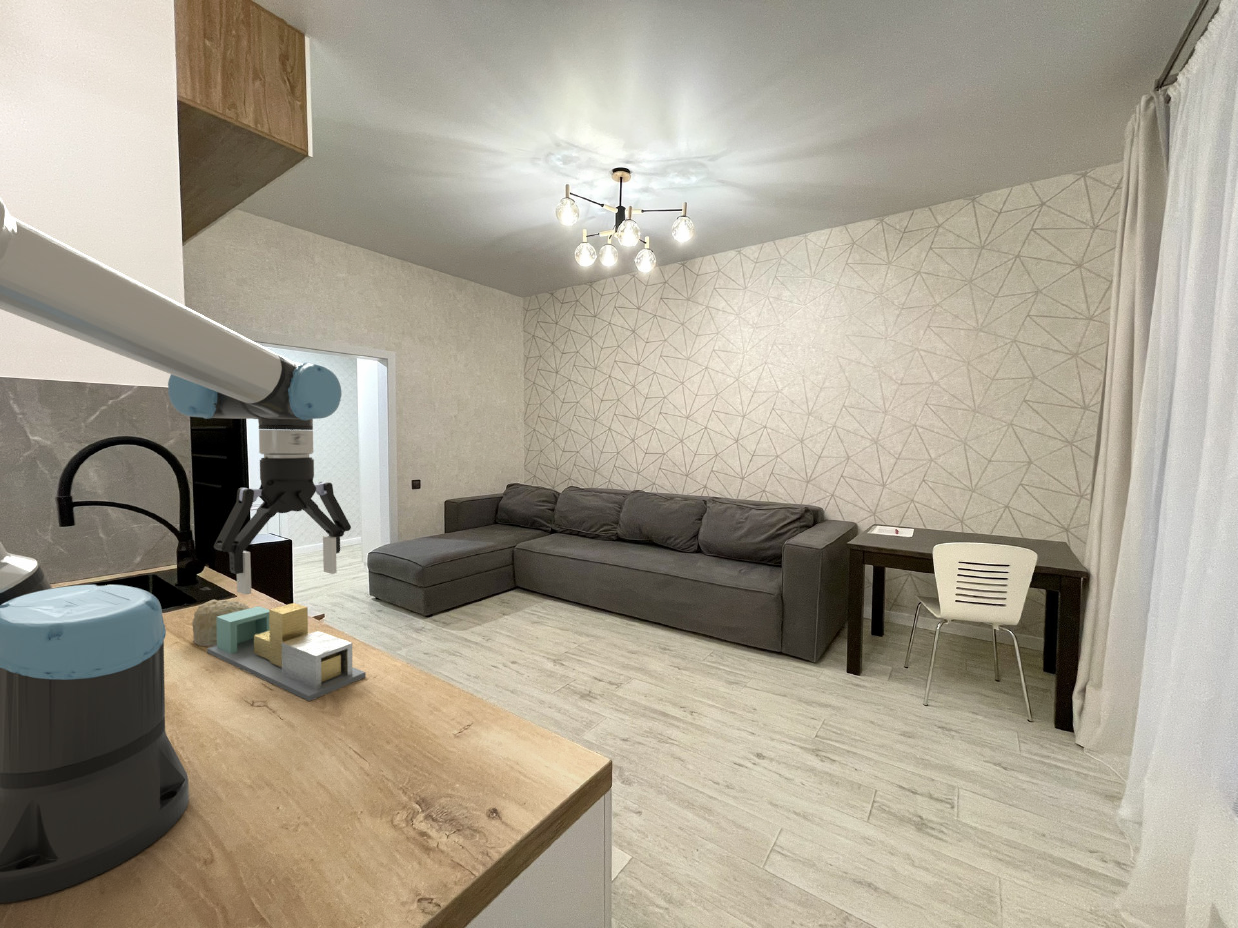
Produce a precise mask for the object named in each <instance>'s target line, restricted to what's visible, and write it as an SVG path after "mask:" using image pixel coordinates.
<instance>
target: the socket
mask: <svg viewBox="0 0 1238 928" xmlns="http://www.w3.org/2000/svg"><path fill="white" fill-rule="evenodd" d="M216 620H217V648H220V649H222V650H224V651H226V652H228V653H230V654H231V653H234V652H237V643H240V642H243V641H247V640H250V639H253V638H254V635H257V634H260V633H264V632H267V631H269V609H268V608H266V607H262V606H259V605H258V606H254V607H251V608H250V607H249V609H245V610H241V611H237V612H233V613H229V614H225V615H221V616H217V617H216Z"/></svg>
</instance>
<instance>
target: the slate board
mask: <svg viewBox="0 0 1238 928" xmlns="http://www.w3.org/2000/svg"><path fill="white" fill-rule="evenodd" d="M206 653H207V654H209V655H211V656H213V657H215V658H217V659H220V660H222V661H224V662H226V663H228V664H230V665H232V666H233V667H236V668H238V669H241V670H242V671H245V672H247V673H249V674H251V675H253V676H255V677H257V678H259V679H261V680H264V681H266V682H268V683H269V684H272V685H274V686H276V687H278V688H280V689H282V690H285V691H286V692H288V693H291V694H293V695H295V696H297V697H299V698H301V699H303V700H306V701H308V702H310V701H314V700H315V699H317V698H320V697H322V696H325V695H327V694H330V693H331V692H334V691H336V690H338V689H340V688H342V687H343V688H344V687H345V686H348V685H350V684H352V683H354V682H355V683H356V681H360V680H361V679H364V678H366V675H367V674H366V673H367V672H366V671H363V670H361V669H358V668H357V667H354V666H352V675H350V676H345V675H343V674H341V675H338V676H336V677H333V678H331V679H328V680H326V681H323V682H321V688H319V689H313V688H311V687H309V686H307V685H305V684H302V683H300V682H298V681H296V680H294V679H291V678H289V677H287V676H285V675H283V674H282V667H279V666H277V665H275V664H273V663H270V660H268V659H266V658H263V657H261V656H259V655H257V654H254V638H253V639H250V640H247V641H243V642H240V643H237V652H234V653H231V654H230V653H228V652H226V651H224V650H222V649H220V648H217V645H216V646H208V647H207V648H206Z"/></svg>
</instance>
